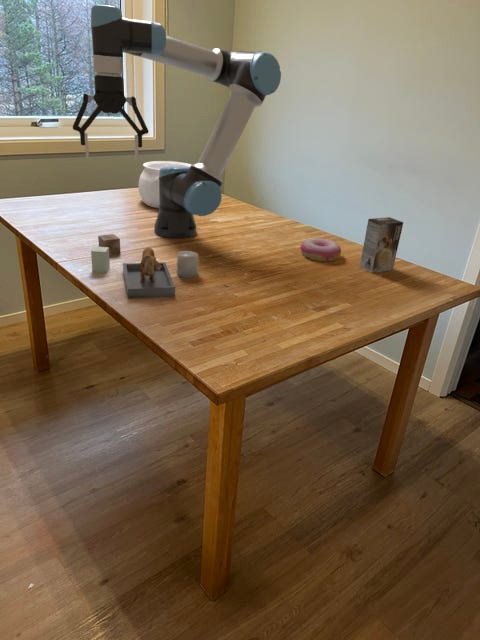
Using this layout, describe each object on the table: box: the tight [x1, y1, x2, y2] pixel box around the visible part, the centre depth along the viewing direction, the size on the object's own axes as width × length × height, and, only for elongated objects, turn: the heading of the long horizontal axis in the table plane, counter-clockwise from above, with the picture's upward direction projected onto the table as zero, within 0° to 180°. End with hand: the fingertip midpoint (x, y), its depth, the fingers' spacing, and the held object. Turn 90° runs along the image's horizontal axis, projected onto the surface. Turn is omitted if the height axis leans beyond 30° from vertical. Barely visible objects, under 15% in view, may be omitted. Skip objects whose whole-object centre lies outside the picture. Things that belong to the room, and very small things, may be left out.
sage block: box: [90, 245, 111, 273], centre depth 137 cm, size 4×4×6 cm
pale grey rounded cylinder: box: [176, 250, 199, 279], centre depth 138 cm, size 6×6×6 cm
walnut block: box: [97, 233, 122, 256], centre depth 149 cm, size 5×5×5 cm
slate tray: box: [122, 261, 176, 299], centre depth 130 cm, size 12×18×3 cm, turn 16°
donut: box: [300, 237, 342, 262], centre depth 162 cm, size 14×13×5 cm
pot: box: [138, 160, 192, 209], centre depth 206 cm, size 29×26×16 cm
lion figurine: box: [139, 247, 162, 283], centre depth 130 cm, size 15×5×9 cm, turn 18°
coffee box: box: [359, 216, 404, 274], centre depth 152 cm, size 9×6×16 cm
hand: (112, 158), depth 136 cm, fingers open, 13 cm apart
